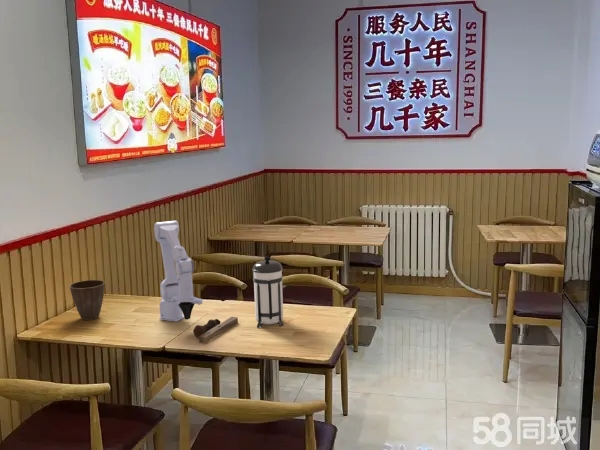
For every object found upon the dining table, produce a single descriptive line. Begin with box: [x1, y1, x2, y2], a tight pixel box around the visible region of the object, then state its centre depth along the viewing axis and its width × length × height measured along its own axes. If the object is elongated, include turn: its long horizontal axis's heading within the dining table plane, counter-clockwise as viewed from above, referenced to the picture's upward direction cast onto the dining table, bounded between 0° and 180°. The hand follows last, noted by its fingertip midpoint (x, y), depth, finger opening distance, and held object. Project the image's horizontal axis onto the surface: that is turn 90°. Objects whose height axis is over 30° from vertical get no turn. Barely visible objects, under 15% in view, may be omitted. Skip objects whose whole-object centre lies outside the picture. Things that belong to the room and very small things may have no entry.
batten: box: [198, 316, 239, 344], centre depth 244 cm, size 3×26×3 cm, turn 157°
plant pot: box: [69, 279, 105, 321], centre depth 267 cm, size 15×15×16 cm
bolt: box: [192, 318, 222, 339], centre depth 245 cm, size 6×5×15 cm
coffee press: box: [252, 255, 285, 329], centre depth 250 cm, size 17×16×30 cm
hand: (187, 318), depth 247 cm, fingers closed
